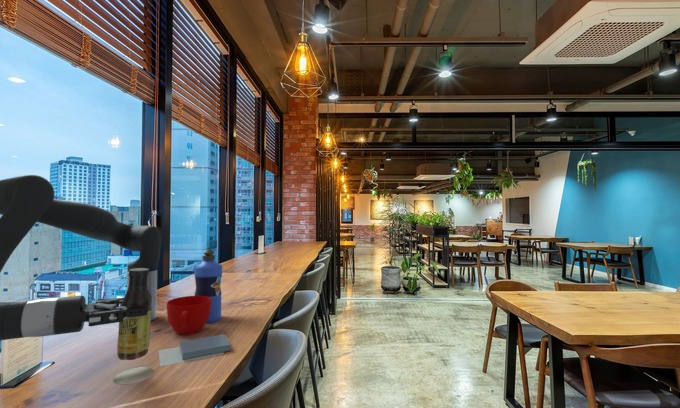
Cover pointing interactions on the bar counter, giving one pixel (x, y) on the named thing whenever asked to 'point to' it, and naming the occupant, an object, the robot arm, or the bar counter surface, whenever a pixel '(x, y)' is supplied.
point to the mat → (177, 356)
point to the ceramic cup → (188, 313)
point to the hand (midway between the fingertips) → (147, 306)
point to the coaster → (133, 375)
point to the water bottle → (209, 283)
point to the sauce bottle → (135, 318)
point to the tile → (204, 346)
